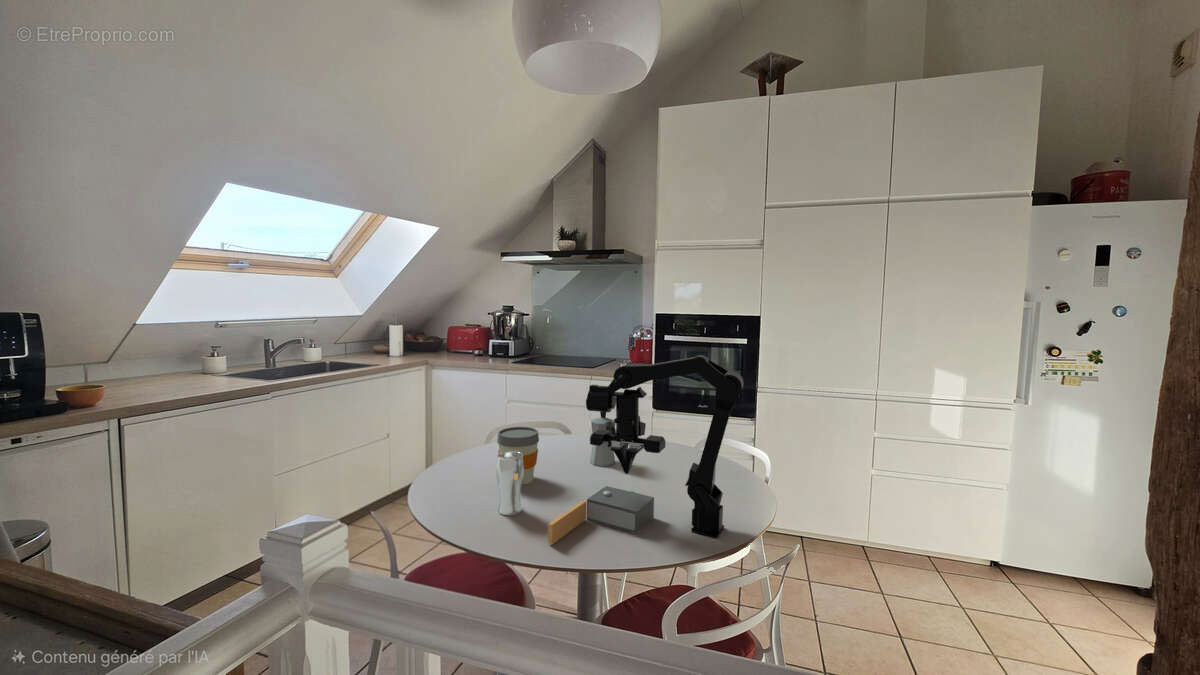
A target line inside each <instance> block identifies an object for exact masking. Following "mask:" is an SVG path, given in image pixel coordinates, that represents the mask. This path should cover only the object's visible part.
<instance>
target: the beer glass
mask: <svg viewBox="0 0 1200 675" xmlns="http://www.w3.org/2000/svg"><path fill="white" fill-rule="evenodd" d="M496 457H497V459H496V480H497V481H496V482H497V486H498V493H499V505H498V513H499V514H500V515H502V516H507V517H508V516H516V515H519V514H520V513H521V512H522V510H523V507H522V503H521V492H522V487H523V485H522V482H523V472H524V467H523V454H522V453H520V452H516V451H507V452H502V453H500V454H497V456H496Z"/></svg>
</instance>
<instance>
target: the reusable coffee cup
mask: <svg viewBox="0 0 1200 675" xmlns="http://www.w3.org/2000/svg"><path fill="white" fill-rule="evenodd" d="M539 439H540V438H539V431H538V429H536V428H533V427H527V426H513V427H505V428H502V429H500V430H499V431H498V432H497V444H498V451H497V453H498V454H500V453H502V452H507V451H516V452H520V453H522V454H523V467H524V472H523V482H522V486H524V484H525V485H528V484H530V483H532V482H533V481H532V480H534V472H535V466H536V465H537V463H538V461H537V460H538V453H539V452H538V451H539V449H538V443H539V442H540V440H539ZM498 454H497V455H498ZM531 481H532V482H531ZM527 483H528V484H527Z"/></svg>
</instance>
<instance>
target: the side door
mask: <svg viewBox="0 0 1200 675" xmlns="http://www.w3.org/2000/svg"><path fill="white" fill-rule="evenodd" d="M585 520H587V500H582V501H580V502H578V503H577V504H575V505H574V506H573V507H571V508H570V509H568V510H567V511H565V512H564V513H562V514H561V515H560V516H558V517H557V518H555V519H553V520H552V521H550V522H549V523H548V524H547V538H548V542H547V543H548V545H554V544H555V543H556V542H558V541H559V540H560V539H561V538H563V537H564V536H565V535H567V534H568V533H569V532H571V531H572V530H573V529H575V528H577V526H579V525H580V524H582V523H583V522H584V521H585Z"/></svg>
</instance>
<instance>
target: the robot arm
mask: <svg viewBox="0 0 1200 675" xmlns="http://www.w3.org/2000/svg"><path fill="white" fill-rule="evenodd" d="M692 374H698V375H699V376H701V378H703V380H705V382H707V383H708V384H709V385H710V386H712V387H713V388H715V396H714V397H715V399H714V401H715V402H714V411H713V414H712V419H711V422H710V425H709V430H708V433H707V435H706V436H707V437H706V440H705V442H704V446H703V449H702V450H703V451H702V453H701V456H700V461H699V463H698V464H697V463H696V462H692V464H691V467H690V468H689V474H688V477H687V480H686V482H685V484H684V485H685V487H687V490H686V492H687V495H688V497H689V499H691V500H692V501H693V503H694V505H693V506H694V508H692V510H691V526H692V528H691V529H690V531H691V532H692V533H697V534H700V535H703V536H707V537H712V538H715V539H717V538H719V536H720V535H721V533H722V532H723V530H724V529H725V525H724V524H723V516H724V514H723V513H724V505H722V504H721V502H722V498H723V494H724V492H723V491H722V490H721V489H720V488H719V487H718V486H717V485H716V484H715V480H716V464H717V460H718V457H719V453H720V449H721V447H722V442H723V440H724V436H725V434H726V430H727V426H728V422H729V419H730V415H731V412H732V411H733V408H734V407H735V405H736V403H737V401H738V399H739V397H740V395H741V393H742V390H743V388H744V379H743V377H742V375H740V373H739V372H736V371H732V370H727V369H726V368H725V367H723V366H721V365H719V364H718V363H715V362H714V361H712V360H710V359H709V358H708V357H707V356H706V355H703V354H699V355H696V356H693V357H685V358H680V359H676V360H675V359H674V360H669V361H664V362H663V361H662V362H657V363H642V362H641V363H638V362H637V363H636V362H635V363H634V362H632V363H626V364H623V365H622V366H619V367H617V368H616V370H615V371H614V373H613V379H612V381H611V382H610V384H608V385H598V384H591V385H589V389H588V393H587V395H586V398H585V405H586V410H587V411H588V412H589V411H590V412H599V413H600V412H606V413H610V412H612V410H613V409H615V418H614V419H613V420H614V423H615V430H616V434H615V435H612V432H611V431H610V430H601V429H599V430H597V431H596V432H594V433H591V434H590V436H589V445H592V446H593V445H598V446H601V445H602V444H603V443H604V441H605V442H612V447H611V448H610V450H612V451H614V455H615V457H616V458H617V460H618V462H619V464H620V466H621V467H622V468H621V469H622V470H623V472H624V474H625V475H629V473H630V472H631V469H632V466H633V463H634V460H635V458H636V456H637V454H639V453H640V452H641V451H642V450H643V449H644V450H645V452H646V453H652V454H660V453H661V452H662V451H663V450H664V449H665V448H666V439H665V436H663V435H653V434H650V435H648V436H647V437H646V438H641V437H642V436H645V434H646V423H645V422H644V421H641V416H640V415H639V409H640V408H639V406H640V404H639V402H640V401H639V399H643V398H645V397H646V396H647V395H648V394H647V392H646V391H645V390H644V389H642V387H641V386H639V385H642V384H644V383H647V382H650V381H654V380H659V379H660V380H661V379H665V378H666V379H667V378H674V377H679V376H685V375H692ZM636 386H638V387H637V388H636V389H631V388H634V387H636ZM621 389H622V390H623V392H622V391H620V390H621ZM618 391H619V392H618Z"/></svg>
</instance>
